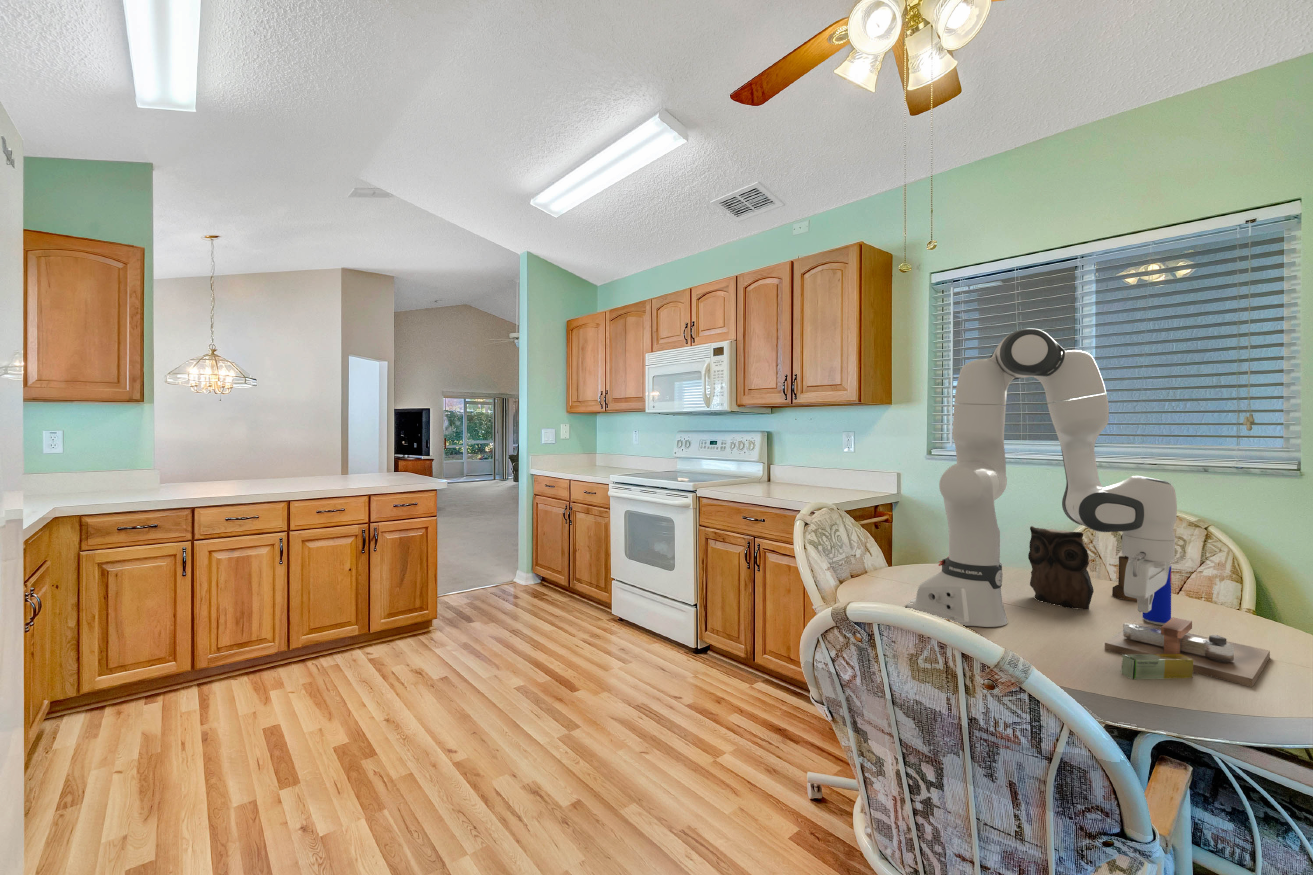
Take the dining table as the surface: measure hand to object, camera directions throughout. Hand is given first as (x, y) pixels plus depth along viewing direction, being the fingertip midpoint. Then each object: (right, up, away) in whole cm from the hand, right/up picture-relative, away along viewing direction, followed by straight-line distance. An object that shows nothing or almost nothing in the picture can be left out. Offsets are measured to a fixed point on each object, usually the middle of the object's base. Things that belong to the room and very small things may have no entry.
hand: (1144, 611), depth 124 cm
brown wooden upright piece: (+22, -6, +30) cm, 38 cm away
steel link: (-2, -4, -10) cm, 11 cm away
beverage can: (+12, -6, +11) cm, 18 cm away
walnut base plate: (+1, -6, -8) cm, 10 cm away
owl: (+2, -6, +27) cm, 27 cm away
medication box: (-14, -7, -19) cm, 24 cm away
